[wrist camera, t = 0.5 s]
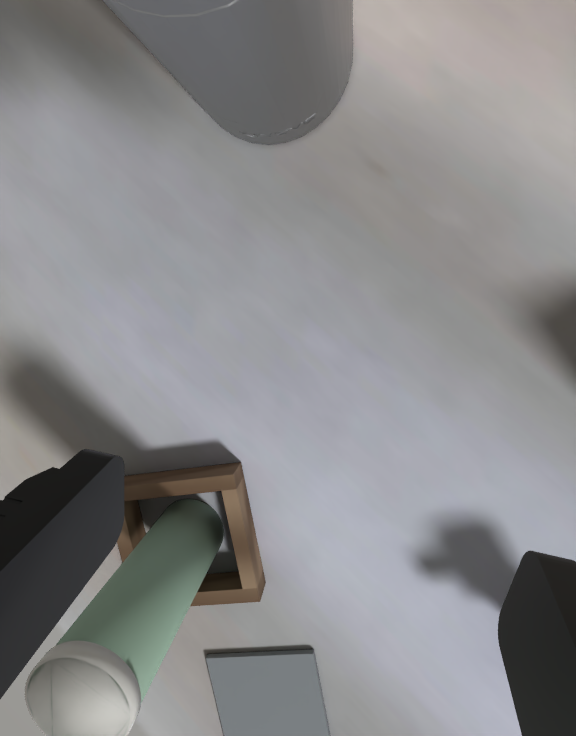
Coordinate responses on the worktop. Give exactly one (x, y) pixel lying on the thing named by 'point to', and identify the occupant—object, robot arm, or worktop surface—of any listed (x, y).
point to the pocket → (235, 497)
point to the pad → (268, 693)
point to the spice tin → (125, 629)
